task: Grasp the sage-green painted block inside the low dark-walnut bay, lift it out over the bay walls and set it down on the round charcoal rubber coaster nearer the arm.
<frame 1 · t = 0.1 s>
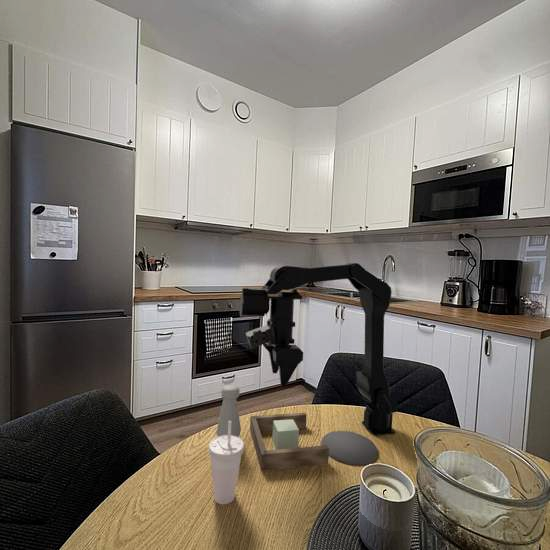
hand: (278, 379, 76), 14 cm above the table, fingers open, 9 cm apart
smoothie: (224, 497, 56), on the table
bay: (284, 445, 73), on the table
block: (285, 435, 73), in the bay
coaster: (348, 447, 73), on the table
salt shaker: (228, 441, 74), on the table
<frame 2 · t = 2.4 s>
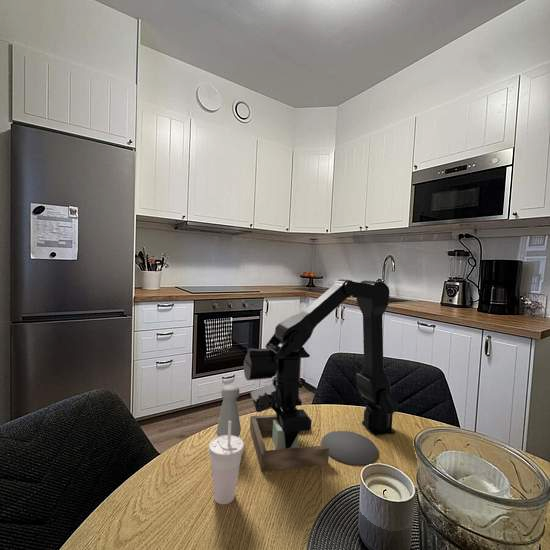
hand: (284, 441, 73), 1 cm above the table, fingers closed on block, 5 cm apart
block: (285, 435, 73), in the bay, touching gripper
everything else where it was.
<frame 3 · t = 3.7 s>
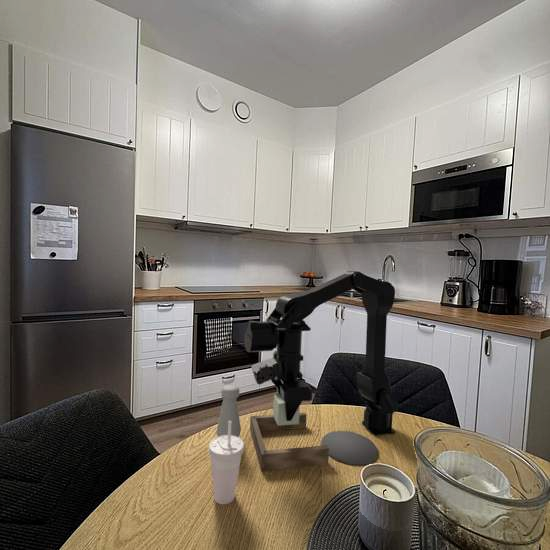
hand: (285, 414, 73), 7 cm above the table, fingers closed on block, 5 cm apart
block: (286, 408, 73), point 9 cm above the table, touching gripper
everything else where it was.
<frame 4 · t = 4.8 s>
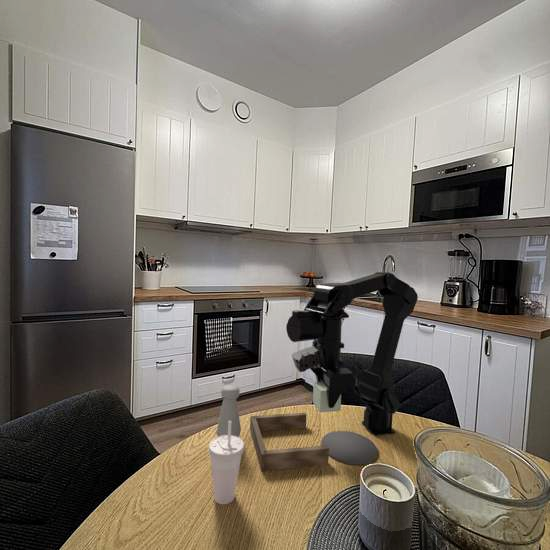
hand: (326, 402, 73), 11 cm above the table, fingers closed on block, 5 cm apart
block: (326, 396, 73), point 12 cm above the table, touching gripper
everything else where it was.
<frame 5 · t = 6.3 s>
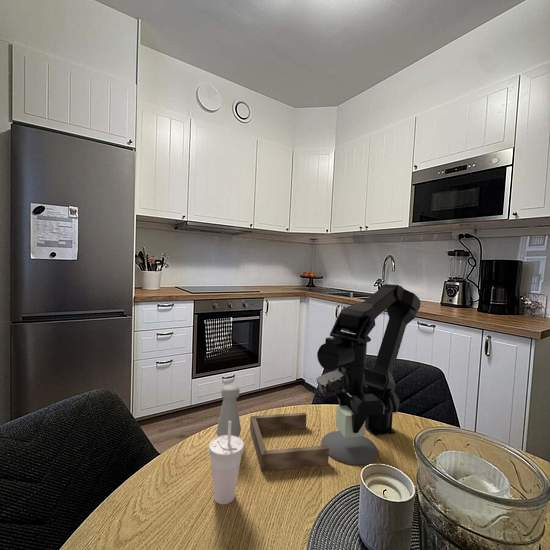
hand: (350, 426, 73), 5 cm above the table, fingers closed on block, 5 cm apart
block: (350, 420, 73), point 6 cm above the table, touching gripper
everything else where it was.
when the fingers open (3 cm above the table, at t = 7.5 s): block drops 1 cm, resting on coaster.
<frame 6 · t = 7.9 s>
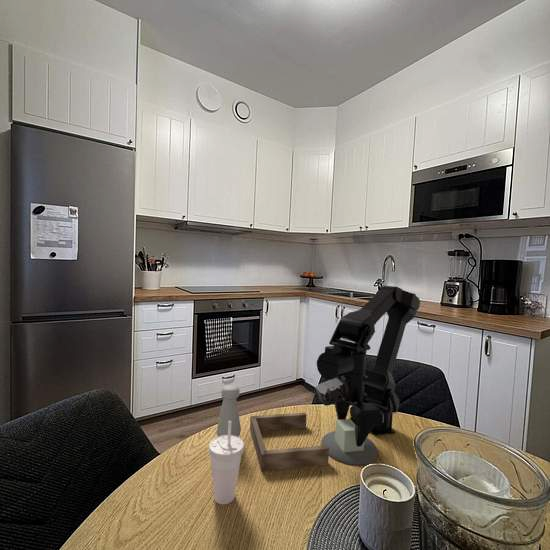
hand: (349, 434, 73), 3 cm above the table, fingers open, 9 cm apart
block: (349, 434, 73), on the coaster
everything else where it was.
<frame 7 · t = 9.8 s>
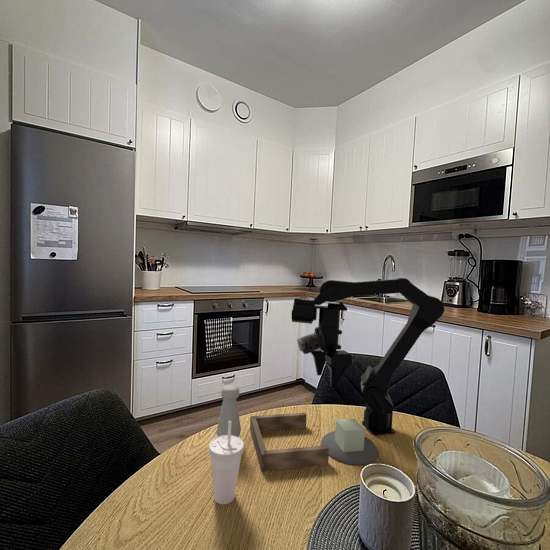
hand: (325, 381, 85), 11 cm above the table, fingers open, 9 cm apart
nothing on the table moved.
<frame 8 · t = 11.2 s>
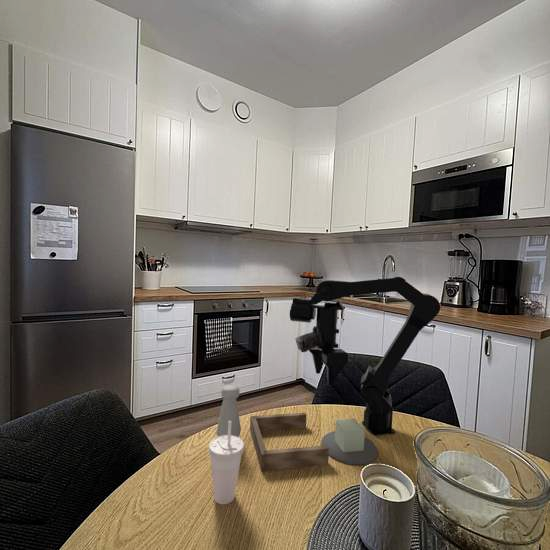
hand: (323, 379, 87), 11 cm above the table, fingers open, 9 cm apart
nothing on the table moved.
at the end: block inside the target area on the coaster (0.1 cm from its centre), point 3.0 cm above the coaster's base; block tilted 0°; the gripper is holding nothing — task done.
